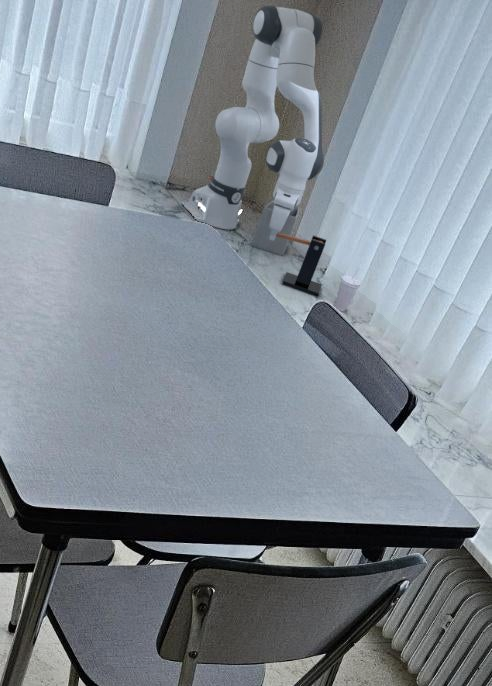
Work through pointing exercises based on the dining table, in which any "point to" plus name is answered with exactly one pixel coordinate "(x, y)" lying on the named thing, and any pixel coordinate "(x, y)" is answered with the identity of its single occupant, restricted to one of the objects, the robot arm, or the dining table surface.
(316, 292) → the bracket
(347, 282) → the smoothie
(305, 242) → the lever
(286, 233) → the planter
